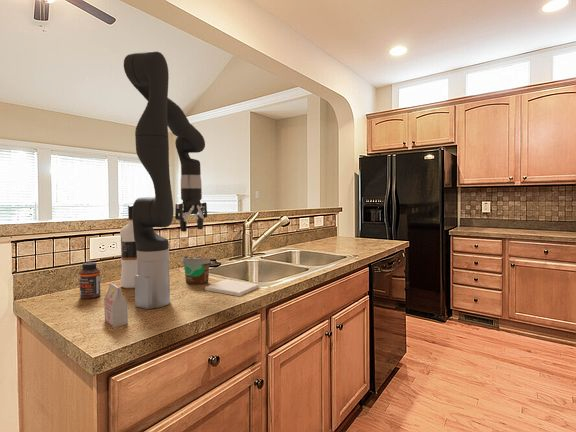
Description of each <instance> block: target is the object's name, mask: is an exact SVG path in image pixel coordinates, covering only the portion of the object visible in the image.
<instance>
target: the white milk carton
mask: <svg viewBox="0 0 576 432" xmlns="http://www.w3.org/2000/svg"><path fill="white" fill-rule="evenodd" d="M103 303H104V305H103V307H104V321H105V322H106V323H107V324H108V325H109V326H111V328H117V327H120V326H124V325H129V317H128V316H129V315H128V301H127V299H126V297H125V296H124V295H123V293H122V291H121V288H120V287H119V286H117V285H115V284H114V283H112V282H109V286H108V289H107V292H106V294H105V297H104V299H103Z"/></svg>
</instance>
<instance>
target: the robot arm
mask: <svg viewBox="0 0 576 432" xmlns="http://www.w3.org/2000/svg"><path fill="white" fill-rule="evenodd" d="M123 69H124V73H125V75H126V77H127V79H128V80H129V82H130V84H132V86H133V87H134V88H135V89H136V90H137V91H138V92H139V93H140V95H142V96H143V98H144V99H145V100H146V101H147V103H146V106H145V108H144V110H143V112H142V114H141V116H140V118H139V120H138V122H137V124H136V127H135V129H134V130H135V131H134V133H135V134H134V136H135V151H136V152H135V153H136V155H137V157H138V160H139V161H140V162H141V164H142V166H143V167H144V168H145V170H146V171H147V174H148V175H149V177H150V178H151V180H152V183H153V189H154V196H142V197H138V198H136V199H135V200H134V202H133V204H132V205H133V208H132V220H133V231H134V240H135V243H136V247H137V275H135V288H134V298H135V300H134V301H135V303H134V304H135V307H138V308H140V309H141V308H142V309H146V310H151V309H157V308H161V307H165V306H167V305H169V304H170V303H171V289H170V287H171V285H170V279H171V278H170V249H169V248H170V247H169V240H168V238H166V237H163V236H161V235H159V234H158V233H157V232H156V231H155V229H154V228H168V227H170V226H171V224H172V222H173V220H174V218H175V220H177V221H179V228H180V231H181V232H184V233H185V232H187V231H188V230H187V226H188V224H187V219H188V218H189V217H190V215H191V216H192V215H194V216H195V217H196V220H197V221H196V223H197V224H196V226H197V227H196V228H197V230H203V228H204V219H206V218H208V209H207V208H208V206H207V202H204V201H203V202H202V201H201V200H202V199H203V198H202V197H203V195H202V194H203V192H202V190H203V189H202V178H201V177H202V176H201V174H202V173H201V171H202V170H201V162H200V160H198V159H196V158H192V157H190V154H191V153H192V154H193V153H194V154H195V153H197V154H198V153H202V152H203V150H204V149H206V141H205V138H204V136H203V135H202V133H201V132H200V131H199V130H198V129H197V128H196V127H195V126H194V125H193V124H191V122H189V119H188V117H187V115H186V114H185V113H184V111H183V109H182V108H181V107H180V106H179V105H178V104H177V103H176V102H175V101H173V100H172V99H171V98H169V97H168V94H169V66H168V63H167V59H166V57H165V56H164V54H163V53H162V52H159V51H155V50H154V51H153V50H152V51H141V52H133V53H129V54H127V55H126V56H125V57H124V59H123ZM169 130H170V132H171V133H172V134H173V136H175V143H174V144H175V149H176V152H177V155H178V158H179V162H180V175H181V176H180V200H181V201H182V202H180V203H178V202H177V203H175V208H174V201H173V192H172V185H171V184H172V183H171V178H170V177H171V176H170V174H171V173H170V147H169V146H170V145H169V144H170V143H169ZM174 209H175V214H174ZM174 216H175V217H174Z"/></svg>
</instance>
